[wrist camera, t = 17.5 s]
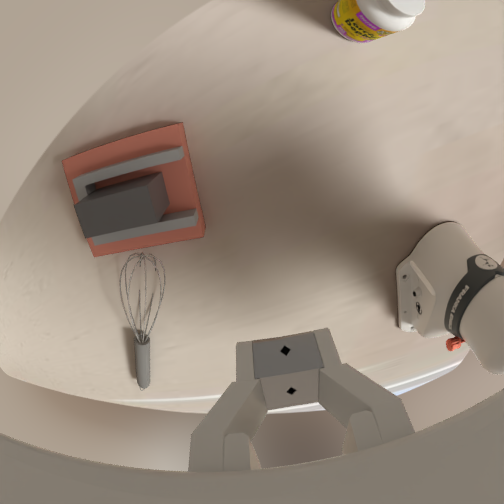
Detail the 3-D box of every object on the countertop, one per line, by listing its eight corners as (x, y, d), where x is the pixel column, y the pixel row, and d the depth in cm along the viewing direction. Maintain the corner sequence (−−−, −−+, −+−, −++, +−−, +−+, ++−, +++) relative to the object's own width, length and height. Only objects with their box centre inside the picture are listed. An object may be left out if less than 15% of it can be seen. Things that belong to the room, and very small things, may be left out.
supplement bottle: (323, 31, 27) (364, 0, 16) (335, -8, 24) (377, -46, 13) (371, 52, 28) (428, 37, 17) (382, 14, 25) (437, -11, 14)
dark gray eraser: (169, 203, 34) (157, 222, 28) (105, 218, 34) (85, 238, 29) (161, 171, 32) (147, 185, 26) (96, 188, 32) (73, 205, 27)
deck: (205, 227, 39) (201, 246, 34) (102, 247, 39) (86, 266, 34) (182, 122, 32) (173, 125, 27) (72, 156, 33) (51, 165, 28)
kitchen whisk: (131, 381, 54) (125, 404, 48) (130, 238, 39) (115, 260, 34) (159, 387, 55) (154, 411, 49) (171, 246, 40) (161, 269, 35)
